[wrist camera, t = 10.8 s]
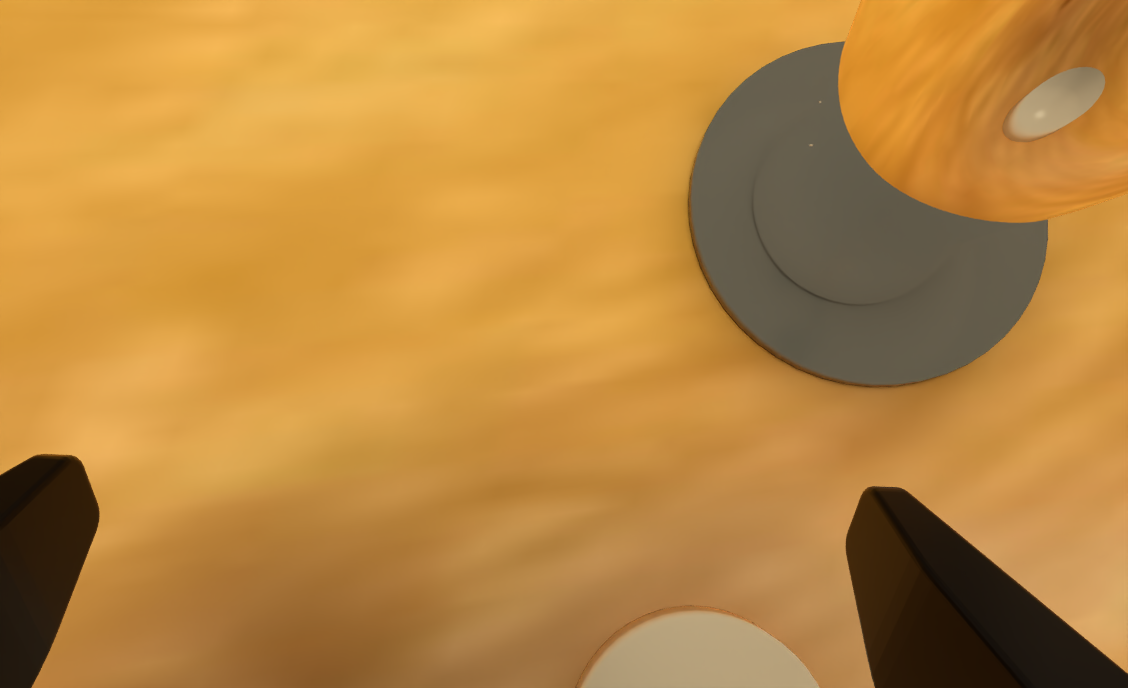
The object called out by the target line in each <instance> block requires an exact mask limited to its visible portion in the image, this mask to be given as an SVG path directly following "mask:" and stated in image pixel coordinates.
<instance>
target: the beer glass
mask: <svg viewBox="0 0 1128 688" xmlns="http://www.w3.org/2000/svg"><path fill="white" fill-rule="evenodd" d="M819 103H820V104H819V105H818V106H817V107H816V108H815V109H814V110H813V111H812V112H810V113H809V114H808V115H806V116H805V117H803V118H802V119H801V120H799V121H798V122H797V123H795V124H794V125H793V126H792V127H790V128H789V129H788V130H787V131H786V132H784V133H783V134H782V135H781V136H780V137H779V138H778V139H777V141H776V142H775V143H774V144H773V145H772V147H771V148H770V149H769V151H768V152H767V154H766V155H765V157H764V159H763V161H762V163H761V165H760V167H759V170H758V173H757V176H756V180H755V184H754V190H753V214H754V220H755V224H756V228H757V231H758V234H759V237H760V239H761V241H762V243H763V246H764V247H765V249H766V251H767V253H768V254H769V256H770V257H771V259H772V260H773V262H774V263H775V264H776V265H777V267H778V268H779V269H780V270H781V271H782V272H783V273H784V274H785V275H786V276H787V277H788V278H789V279H791V280H792V281H793V282H794V283H796V284H797V285H799V286H800V287H802V288H803V289H805V290H807V291H808V292H810V293H812V294H814V295H816V296H819V297H821V298H824V299H827V300H830V301H834V302H838V303H844V304H853V305H865V304H876V303H881V302H886V301H889V300H893V299H895V298H898V297H900V296H902V295H905V294H906V293H908V292H910V291H912V290H913V289H915V288H916V287H918V286H919V285H921V284H922V283H923V282H924V281H926V280H927V279H928V278H929V277H930V276H931V275H932V274H933V273H934V272H935V271H936V270H937V269H938V268H939V267H940V266H941V265H942V264H943V262H944V261H945V260H946V259H947V258H948V257H949V256H950V255H951V254H952V252H953V251H954V250H956V249H957V248H958V247H960V246H961V245H963V244H965V243H967V242H969V241H971V240H975V239H978V238H981V237H984V236H987V235H991V234H994V233H998V232H1002V231H1006V230H1010V229H1014V228H1017V227H1021V226H1025V225H1029V224H1032V223H1036V222H1040V221H1043V220H1047V219H1050V218H1054V217H1058V216H1061V215H1065V214H1068V213H1072V212H1075V211H1079V210H1082V209H1085V208H1088V207H1091V206H1094V205H1096V204H1099V203H1102V202H1105V201H1108V200H1111V199H1114V198H1117V197H1120V196H1123V195H1126V194H1128V0H861V2H860V4H859V7H858V10H857V12H856V15H855V17H854V20H853V23H852V25H851V28H850V31H849V33H848V36H847V39H846V41H845V44H844V46H843V49H842V52H841V55H840V58H839V60H838V63H837V66H836V69H835V72H834V74H833V77H832V79H831V82H830V84H829V87H828V89H827V92H826V94H825V96H824V98H823V99H822V101H819Z"/></svg>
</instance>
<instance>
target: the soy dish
mask: <svg viewBox="0 0 1128 688" xmlns="http://www.w3.org/2000/svg"><path fill="white" fill-rule="evenodd" d="M576 688H820V687H819V685H818V684H817V682H816V681H815V679H814V678H813V676H812V675H811V673H810V672H809V670H808V669H807V668H806V667H805V665H804V664H803V663H802V662H801V661H800V660H799V658H798V657H797V656H796V655H795V654H794V653H793V652H792V651H790V650H789V649H788V648H787V647H786V646H785V645H784V644H783V643H781V642H780V641H778V640H777V639H775V638H774V637H773V636H771V635H770V634H768V633H767V632H766V631H764V630H763V629H761V628H760V627H758V626H757V625H755V624H754V623H752V622H750V621H748V620H746V619H744V618H742V617H740V616H738V615H736V614H733V613H730V612H727V611H724V610H720V609H716V608H711V607H703V606H679V607H671V608H667V609H662V610H658V611H655V612H652V613H650V614H647V615H644V616H642V617H640V618H638V619H636V620H634V621H632V622H630V623H629V624H627V625H626V626H624V627H623V628H621V629H620V630H619V631H617V632H616V633H615V634H614V635H612V636H611V637H610V638H609V639H608V640H607V641H606V642H605V643H604V644H603V645H602V646H601V647H600V649H599V650H598V651H597V652H596V653H595V655H594V656H593V657H592V659H591V660H590V662H589V663H588V665H587V667H586V668H585V670H584V671H583V673H582V675H581V677H580V680H579V682H578V684H577V686H576Z"/></svg>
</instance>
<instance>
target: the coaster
mask: <svg viewBox="0 0 1128 688" xmlns="http://www.w3.org/2000/svg"><path fill="white" fill-rule="evenodd" d="M844 44H845V42H836V43H827V44H821V45H817V46H812V47H808V48H804V49H801V50H798V51H795V52H793V53H790V54H788V55H785V56H782V57H780V58H778V59H777V60H775V61H773V62H771V63H769V64H767V65H766V66H764V67H762V68H761V69H759V70H758V71H757V72H755V73H754V74H753V75H751V76H750V77H749V78H747V79H746V80H745V81H744V82H743V83H742V84H741V85H740V86H739V87H738V88H737V89H736V90H735V91H734V92H732V93H731V94H730V96H729V97H728V98H727V100H726V101H725V102H724V103H723V105H722V106H721V107H720V109H719V110H718V111H717V113H716V115H715V117H714V118H713V120H712V122H711V124H710V125H709V127H708V129H707V131H706V133H705V135H704V137H703V139H702V142H701V144H700V147H699V150H698V152H697V155H696V157H695V161H694V165H693V169H692V174H691V178H690V187H689V198H688V207H689V224H690V230H691V235H692V240H693V246H694V249H695V252H696V255H697V258H698V261H699V264H700V267H701V269H702V271H703V273H704V275H705V277H706V280H707V282H708V284H709V286H710V288H711V290H712V291H713V293H714V294H715V296H716V297H717V299H718V300H719V302H720V303H721V305H722V307H723V308H724V309H725V311H726V312H727V313H728V314H729V315H730V316H731V318H732V319H733V320H734V321H735V322H736V324H737V325H738V326H739V327H740V328H741V329H742V330H743V331H744V332H745V333H746V334H748V335H749V336H750V337H751V338H752V339H753V340H754V341H755V342H756V343H757V344H759V345H760V346H762V347H763V348H764V349H766V350H767V351H769V352H770V353H771V354H773V355H774V356H775V357H777V358H779V359H781V360H782V361H784V362H786V363H788V364H790V365H792V366H793V367H795V368H797V369H799V370H802V371H804V372H807V373H809V374H812V375H815V376H817V377H820V378H823V379H827V380H831V381H835V382H839V383H843V384H849V385H858V386H866V387H887V386H898V385H905V384H912V383H917V382H920V381H923V380H927V379H930V378H934V377H937V376H940V375H944V374H947V373H949V372H951V371H954V370H956V369H958V368H960V367H962V366H965V365H967V364H969V363H970V362H972V361H973V360H975V359H977V358H978V357H980V356H981V355H983V354H984V353H986V352H987V351H989V350H990V349H991V348H992V347H993V346H994V345H996V344H997V343H998V342H999V341H1000V340H1001V339H1002V338H1004V337H1005V335H1006V334H1007V333H1008V332H1009V331H1010V330H1011V328H1012V327H1013V326H1014V325H1015V324H1016V323H1017V321H1018V320H1019V319H1020V317H1021V315H1022V314H1023V312H1024V311H1025V309H1026V308H1027V306H1028V304H1029V303H1030V301H1031V299H1032V296H1033V294H1034V292H1035V290H1036V287H1037V285H1038V283H1039V280H1040V276H1041V273H1042V269H1043V266H1044V262H1045V256H1046V249H1047V241H1048V219H1047V220H1043V221H1040V222H1036V223H1032V224H1029V225H1025V226H1021V227H1017V228H1014V229H1010V230H1006V231H1002V232H998V233H994V234H991V235H987V236H984V237H981V238H978V239H975V240H971V241H969V242H967V243H965V244H963V245H961V246H960V247H958V248H957V249H956V250H954V251H953V252H952V254H951V255H950V256H949V257H948V258H947V259H946V260H945V261H944V262H943V264H942V265H941V266H940V267H939V268H938V269H937V270H936V271H935V272H934V273H933V274H932V275H931V276H930V277H929V278H928V279H927V280H926V281H924V282H923V283H922V284H921V285H919V286H918V287H916V288H915V289H913V290H912V291H910V292H908V293H906V294H905V295H902V296H900V297H898V298H895V299H893V300H889V301H886V302H881V303H876V304H865V305H853V304H844V303H838V302H834V301H830V300H827V299H824V298H821V297H819V296H816V295H814V294H812V293H810V292H808V291H807V290H805V289H803V288H802V287H800V286H799V285H797V284H796V283H794V282H793V281H792V280H791V279H789V278H788V277H787V276H786V275H785V274H784V273H783V272H782V271H781V270H780V269H779V268H778V267H777V265H776V264H775V263H774V262H773V260H772V259H771V257H770V256H769V254H768V253H767V251H766V249H765V247H764V246H763V243H762V241H761V239H760V237H759V234H758V231H757V228H756V224H755V220H754V214H753V190H754V184H755V180H756V176H757V173H758V170H759V167H760V165H761V163H762V161H763V159H764V157H765V155H766V154H767V152H768V151H769V149H770V148H771V147H772V145H773V144H774V143H775V142H776V141H777V139H778V138H779V137H780V136H781V135H782V134H783V133H784V132H786V131H787V130H788V129H789V128H790V127H792V126H793V125H794V124H795V123H797V122H798V121H799V120H801V119H802V118H803V117H805V116H806V115H808V114H809V113H810V112H812V111H813V110H814V109H815V108H816V107H817V106H818V105H819V104H820V103H819V101H822V99H823V98H824V96H825V94H826V92H827V89H828V87H829V84H830V82H831V79H832V77H833V74H834V72H835V69H836V66H837V63H838V60H839V58H840V55H841V52H842V49H843V46H844Z"/></svg>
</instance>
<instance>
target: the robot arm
mask: <svg viewBox="0 0 1128 688" xmlns="http://www.w3.org/2000/svg"><path fill="white" fill-rule="evenodd" d="M98 523H99V507H98V503H97V500H96V498H95V495H94V492H93V490H92V487H91V484H90V482H89V479H88V476H87V474H86V471H85V468H84V466H83V464H82V462H81V461H80V460H79V459H78V458H77V457H75V456H72V455H53V454H41V455H36V456H33V457H31V458H29V459H27V460H26V461H24V462H22V463H20V464H19V465H17V466H15V467H13V468H12V469H10V470H8V471H6V472H5V473H3V474H1V475H0V688H31V687H32V685H33V683H34V681H35V680H36V678H37V676H38V674H39V672H40V670H41V668H42V665H43V663H44V661H45V659H46V657H47V655H48V653H49V651H50V649H51V646H52V644H53V641H54V639H55V637H56V634H57V632H58V629H59V627H60V624H61V622H62V619H63V616H64V614H65V611H66V609H67V606H68V603H69V601H70V598H71V596H72V593H73V590H74V588H75V585H76V583H77V580H78V577H79V575H80V572H81V570H82V567H83V564H84V562H85V559H86V557H87V554H88V551H89V549H90V546H91V544H92V541H93V538H94V536H95V533H96V531H97V527H98ZM846 555H847V560H848V565H849V570H850V575H851V580H852V585H853V590H854V595H855V600H856V605H857V609H858V614H859V619H860V624H861V629H862V634H863V639H864V644H865V649H866V654H867V658H868V662H869V667H870V671H871V675H872V679H873V682H874V686H875V688H1128V673H1126V672H1125V671H1124V670H1123V669H1121V668H1120V667H1119V666H1118V665H1117V664H1115V663H1114V662H1113V661H1112V660H1111V659H1109V658H1108V657H1107V656H1106V655H1105V654H1103V653H1102V652H1101V651H1100V650H1098V649H1097V648H1096V647H1095V646H1094V645H1092V644H1091V643H1090V642H1089V641H1088V640H1086V639H1085V638H1084V637H1083V636H1082V635H1080V634H1079V633H1078V632H1077V631H1076V630H1074V629H1073V628H1072V627H1071V626H1069V625H1068V624H1067V623H1066V622H1065V621H1063V620H1062V619H1061V618H1060V617H1059V616H1057V615H1056V614H1055V613H1054V612H1053V611H1051V610H1050V609H1049V608H1048V607H1046V606H1045V605H1044V604H1043V603H1042V602H1040V601H1039V600H1038V599H1037V598H1036V597H1034V596H1033V595H1032V594H1031V593H1030V592H1028V591H1027V590H1026V589H1025V588H1024V587H1022V586H1021V585H1020V584H1019V583H1017V582H1016V581H1015V580H1014V579H1013V578H1011V577H1010V576H1009V575H1008V574H1007V573H1005V572H1004V571H1003V570H1002V569H1001V568H999V567H998V566H997V565H996V564H994V563H993V562H992V561H991V560H990V559H988V558H987V557H986V556H985V555H984V554H982V553H981V552H980V551H979V550H978V549H976V548H975V547H974V546H973V545H972V544H970V543H969V542H968V541H967V540H965V539H964V538H963V537H962V536H961V535H959V534H958V533H957V532H956V531H955V530H953V529H952V528H951V527H950V526H949V525H947V524H946V523H945V522H944V521H942V520H941V519H940V518H939V517H938V516H936V515H935V514H934V513H933V512H932V511H930V510H929V509H928V508H927V507H926V506H924V505H923V504H922V503H921V502H920V501H918V500H917V499H916V498H915V497H913V496H912V495H911V494H910V493H909V492H907V491H906V490H904V489H902V488H897V487H875V486H873V487H868V488H867V489H865V491H864V492H863V493H862V495H861V498H860V500H859V503H858V506H857V508H856V511H855V514H854V517H853V519H852V522H851V525H850V527H849V530H848V533H847V537H846Z"/></svg>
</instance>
